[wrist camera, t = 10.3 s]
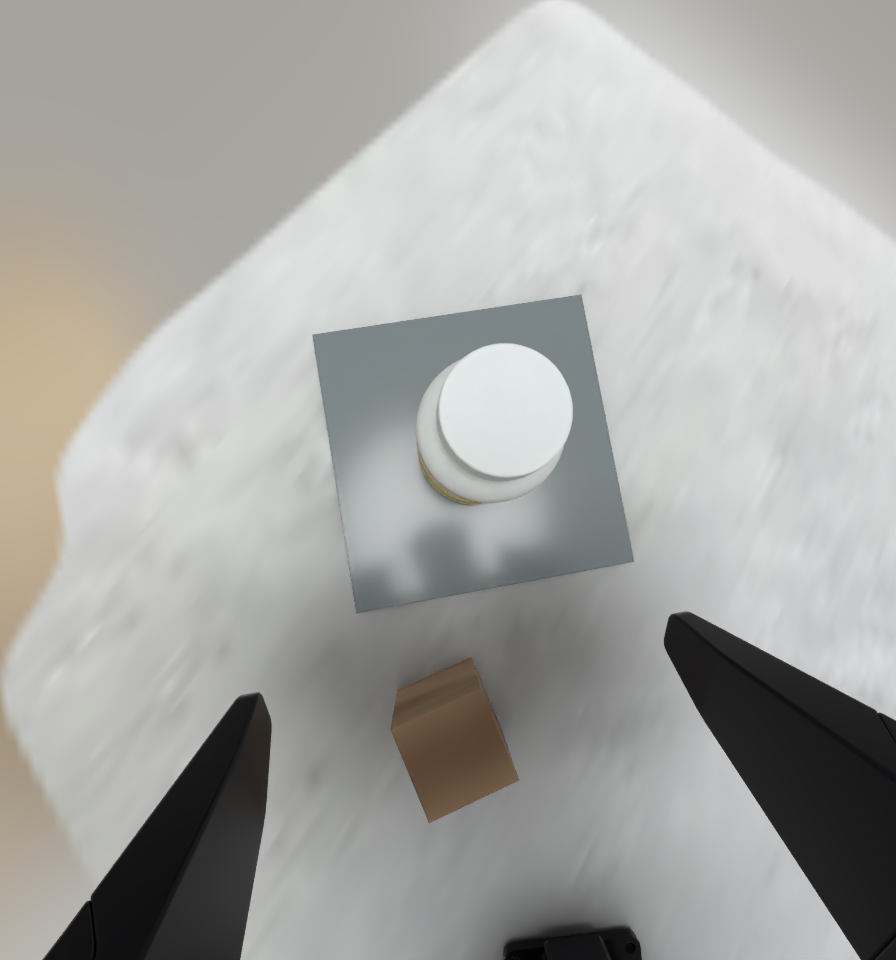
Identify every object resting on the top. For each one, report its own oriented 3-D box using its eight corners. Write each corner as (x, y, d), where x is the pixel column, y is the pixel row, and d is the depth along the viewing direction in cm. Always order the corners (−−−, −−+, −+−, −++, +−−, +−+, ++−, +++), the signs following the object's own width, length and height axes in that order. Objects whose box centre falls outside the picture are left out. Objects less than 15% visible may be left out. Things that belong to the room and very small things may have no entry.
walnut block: (502, 732, 22) (518, 779, 18) (428, 766, 22) (429, 823, 18) (471, 656, 23) (480, 688, 19) (397, 690, 22) (390, 729, 18)
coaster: (628, 560, 23) (634, 561, 23) (358, 610, 22) (356, 613, 22) (577, 300, 24) (581, 294, 23) (315, 339, 23) (312, 334, 23)
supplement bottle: (420, 507, 22) (415, 506, 13) (416, 400, 23) (407, 321, 13) (528, 502, 23) (602, 497, 13) (522, 396, 23) (589, 316, 13)
